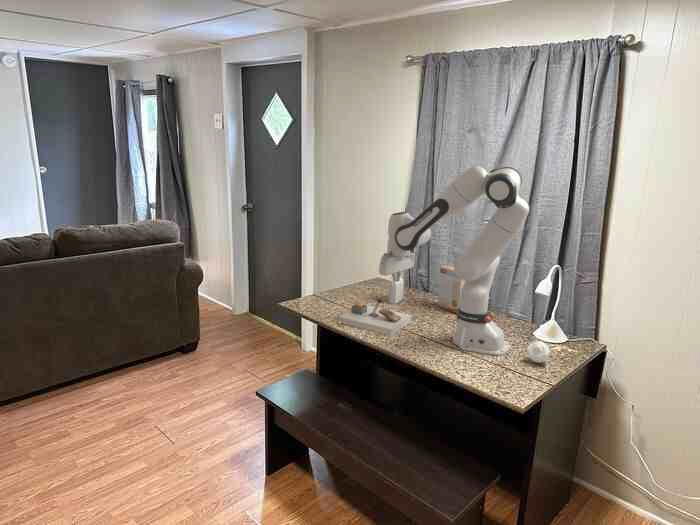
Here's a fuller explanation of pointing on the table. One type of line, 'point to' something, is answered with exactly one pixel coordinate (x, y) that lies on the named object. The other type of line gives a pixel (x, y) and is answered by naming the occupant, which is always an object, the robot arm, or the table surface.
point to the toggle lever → (377, 306)
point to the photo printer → (396, 291)
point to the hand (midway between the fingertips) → (396, 281)
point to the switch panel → (374, 320)
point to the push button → (359, 304)
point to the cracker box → (449, 289)
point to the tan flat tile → (389, 314)
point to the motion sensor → (538, 352)
